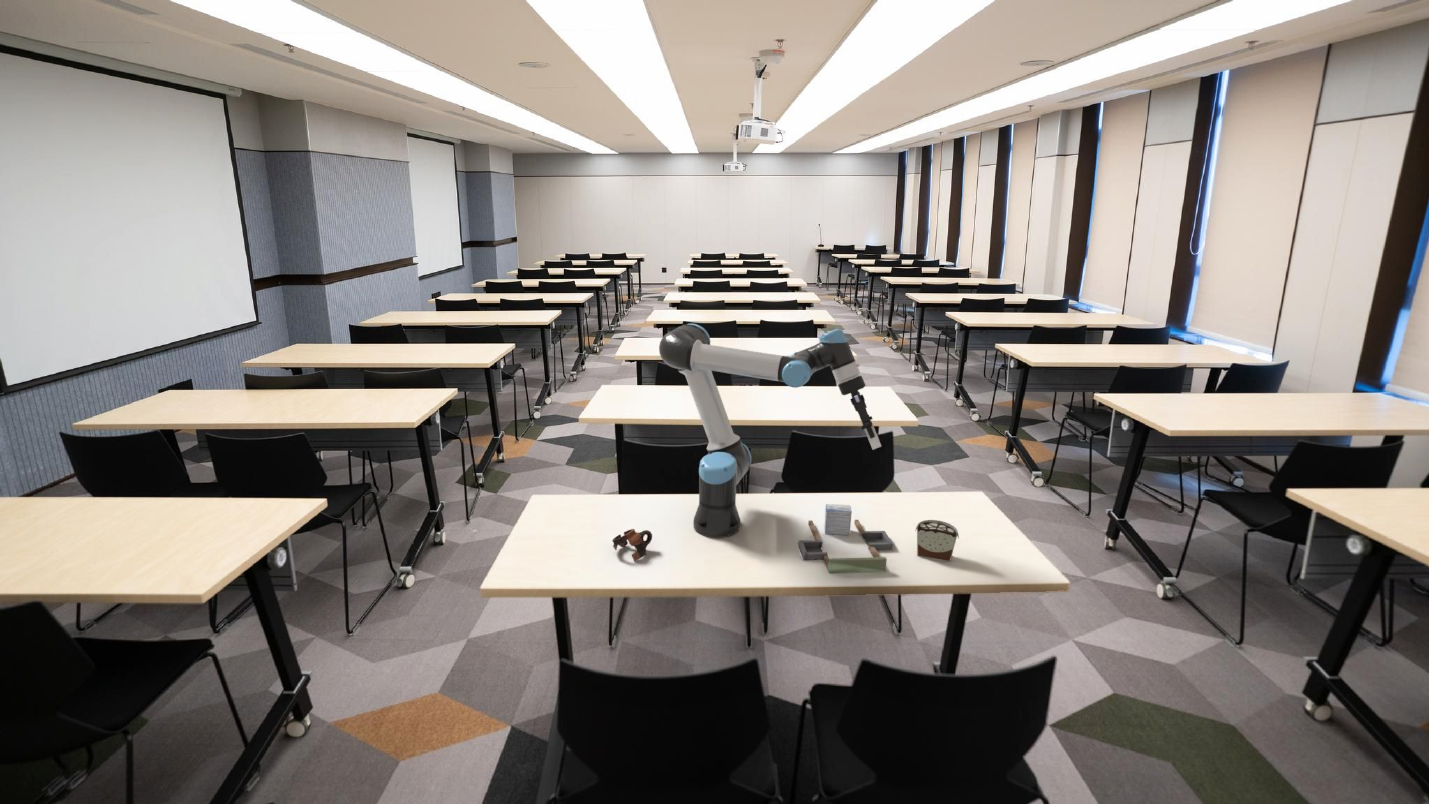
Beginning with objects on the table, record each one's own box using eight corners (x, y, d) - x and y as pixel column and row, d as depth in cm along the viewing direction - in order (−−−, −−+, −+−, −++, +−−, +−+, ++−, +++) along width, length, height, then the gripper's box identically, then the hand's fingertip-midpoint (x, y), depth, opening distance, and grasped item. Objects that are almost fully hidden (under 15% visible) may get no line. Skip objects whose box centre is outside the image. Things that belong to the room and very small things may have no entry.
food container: (955, 552, 205) (959, 523, 202) (955, 562, 199) (959, 532, 196) (913, 545, 209) (916, 516, 206) (912, 555, 203) (915, 525, 200)
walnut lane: (808, 524, 221) (808, 513, 219) (857, 523, 222) (858, 512, 220) (828, 573, 193) (829, 560, 192) (885, 571, 194) (886, 559, 193)
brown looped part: (627, 567, 195) (614, 541, 195) (617, 566, 203) (605, 541, 203) (662, 546, 201) (649, 521, 200) (651, 546, 209) (639, 522, 209)
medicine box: (848, 529, 218) (850, 504, 216) (849, 535, 214) (852, 511, 211) (823, 527, 219) (825, 503, 216) (824, 534, 215) (826, 509, 212)
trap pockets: (794, 538, 212) (795, 532, 211) (884, 536, 214) (884, 530, 213) (803, 560, 199) (803, 554, 198) (897, 558, 201) (898, 552, 200)
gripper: (862, 376, 191) (890, 446, 191) (860, 372, 215) (885, 434, 215) (837, 386, 192) (865, 455, 192) (837, 381, 217) (862, 443, 217)
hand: (875, 444), depth 204 cm, fingers open, 13 cm apart
